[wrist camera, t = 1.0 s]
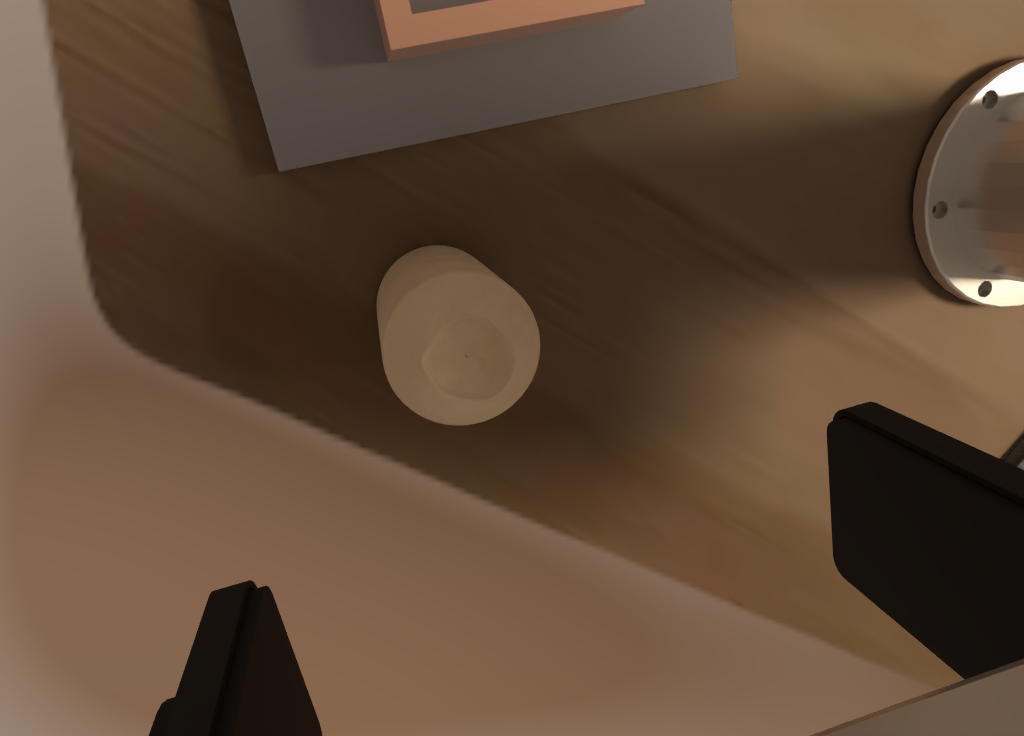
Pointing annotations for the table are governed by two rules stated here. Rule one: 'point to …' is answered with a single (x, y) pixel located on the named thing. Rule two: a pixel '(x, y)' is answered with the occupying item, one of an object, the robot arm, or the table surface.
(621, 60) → the candle stand
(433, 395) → the candle
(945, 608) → the robot arm
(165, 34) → the table surface
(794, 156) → the table surface
